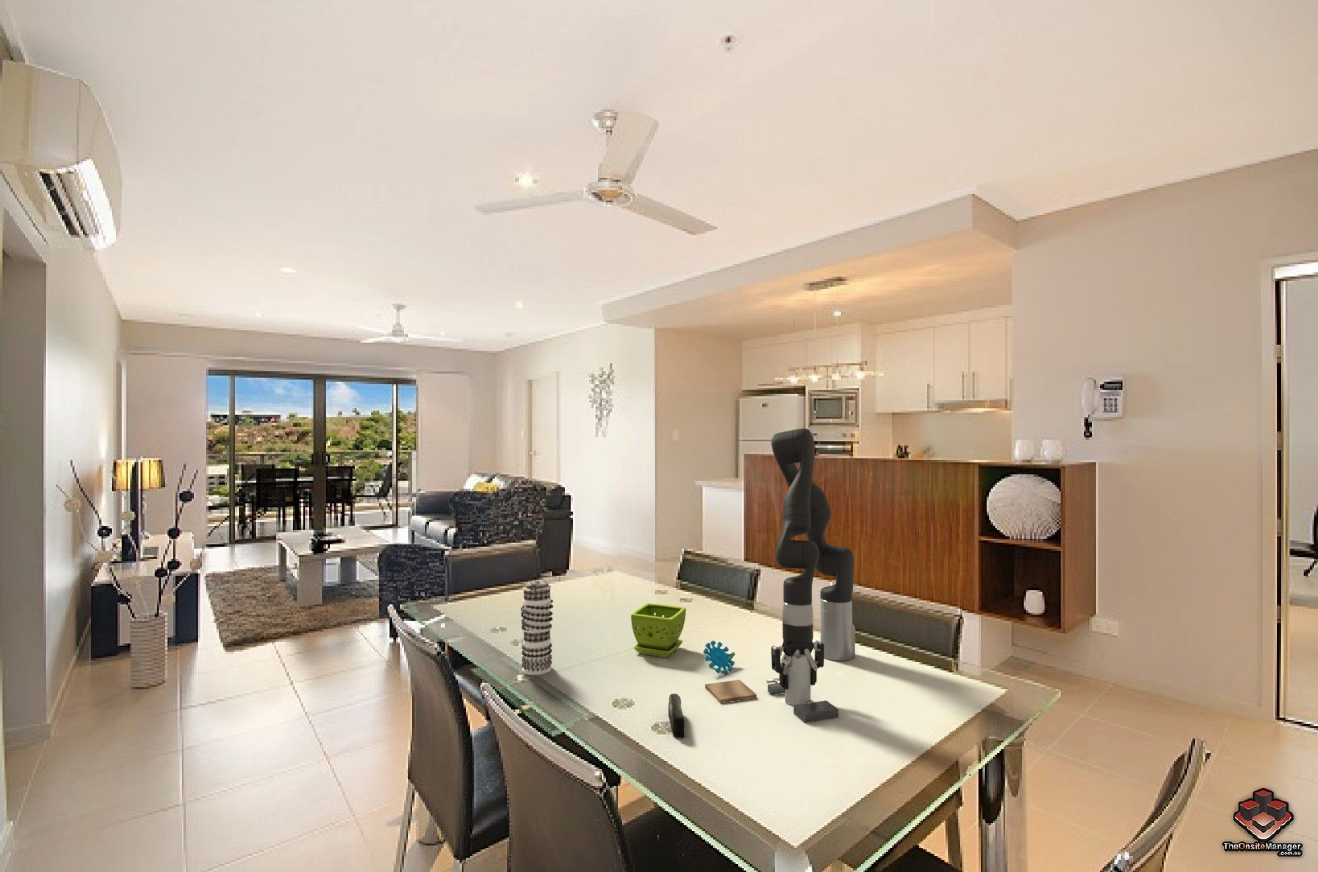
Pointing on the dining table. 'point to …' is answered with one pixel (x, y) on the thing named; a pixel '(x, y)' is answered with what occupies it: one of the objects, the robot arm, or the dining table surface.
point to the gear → (719, 657)
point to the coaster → (730, 691)
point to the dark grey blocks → (807, 706)
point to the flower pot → (658, 628)
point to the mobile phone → (676, 716)
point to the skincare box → (798, 681)
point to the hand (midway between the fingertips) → (798, 686)
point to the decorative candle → (536, 628)
